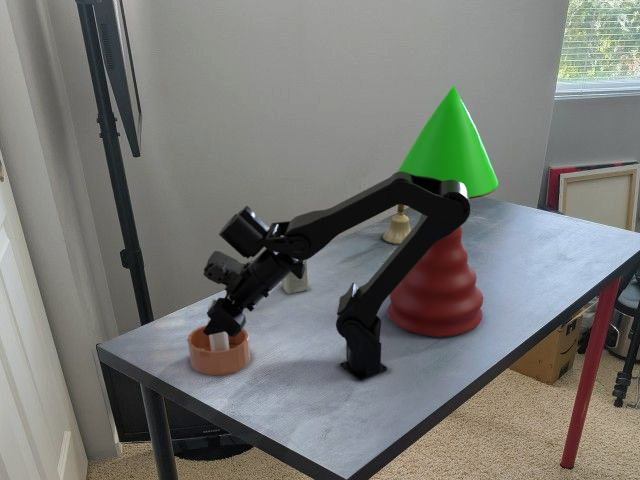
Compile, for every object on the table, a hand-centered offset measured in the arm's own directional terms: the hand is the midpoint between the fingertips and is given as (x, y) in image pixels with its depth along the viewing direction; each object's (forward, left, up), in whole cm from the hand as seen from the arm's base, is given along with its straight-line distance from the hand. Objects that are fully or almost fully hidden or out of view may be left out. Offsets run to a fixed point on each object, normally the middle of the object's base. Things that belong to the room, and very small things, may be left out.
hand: (209, 325), depth 133 cm
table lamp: (-11, -46, -7) cm, 48 cm away
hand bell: (+26, -67, -7) cm, 72 cm away
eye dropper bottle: (-1, -1, -7) cm, 7 cm away
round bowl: (-1, -1, -7) cm, 7 cm away
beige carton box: (+17, -29, -7) cm, 34 cm away
